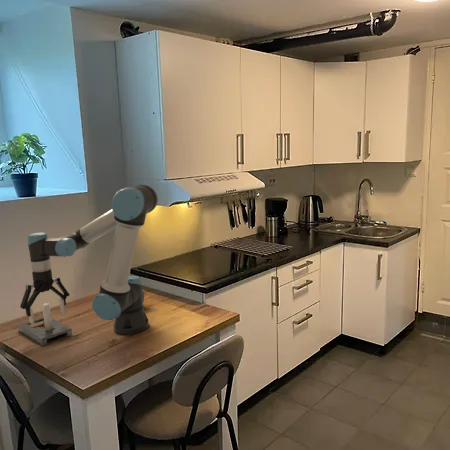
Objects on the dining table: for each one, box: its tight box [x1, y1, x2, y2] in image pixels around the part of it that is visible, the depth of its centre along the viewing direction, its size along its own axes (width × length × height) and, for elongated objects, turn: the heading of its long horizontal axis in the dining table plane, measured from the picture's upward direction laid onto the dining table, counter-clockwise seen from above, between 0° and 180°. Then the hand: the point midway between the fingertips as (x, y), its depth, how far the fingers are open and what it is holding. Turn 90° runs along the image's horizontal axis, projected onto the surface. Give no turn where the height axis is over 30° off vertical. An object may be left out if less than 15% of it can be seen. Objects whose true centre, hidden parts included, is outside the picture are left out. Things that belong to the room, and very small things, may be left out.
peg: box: [41, 302, 54, 339], centre depth 190 cm, size 6×6×14 cm
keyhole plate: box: [17, 316, 73, 347], centre depth 194 cm, size 24×13×3 cm, turn 46°
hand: (47, 318), depth 190 cm, fingers open, 13 cm apart
